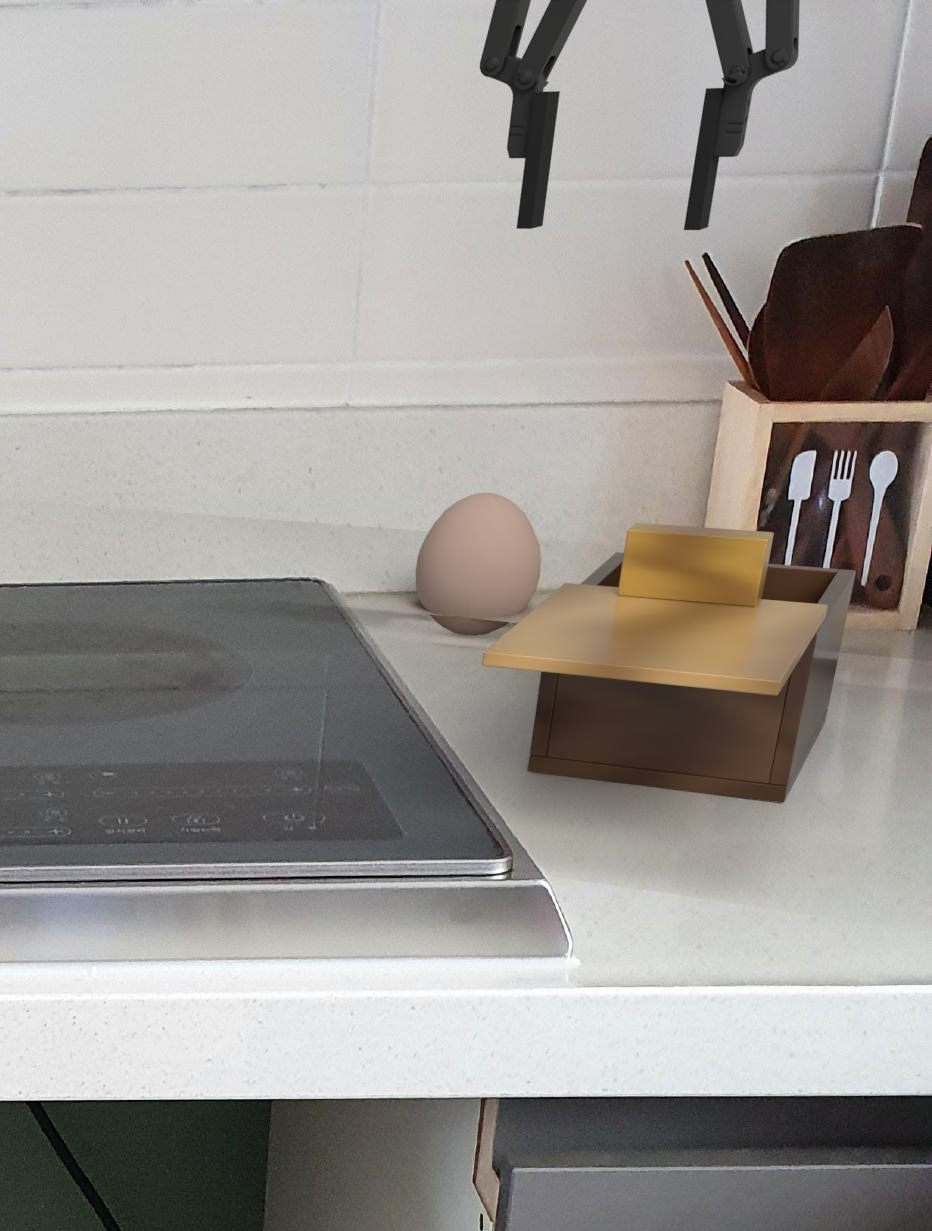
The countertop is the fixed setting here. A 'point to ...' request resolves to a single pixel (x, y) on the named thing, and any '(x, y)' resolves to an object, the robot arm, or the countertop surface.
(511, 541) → the egg
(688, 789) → the box
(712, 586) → the lid
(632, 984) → the countertop surface
